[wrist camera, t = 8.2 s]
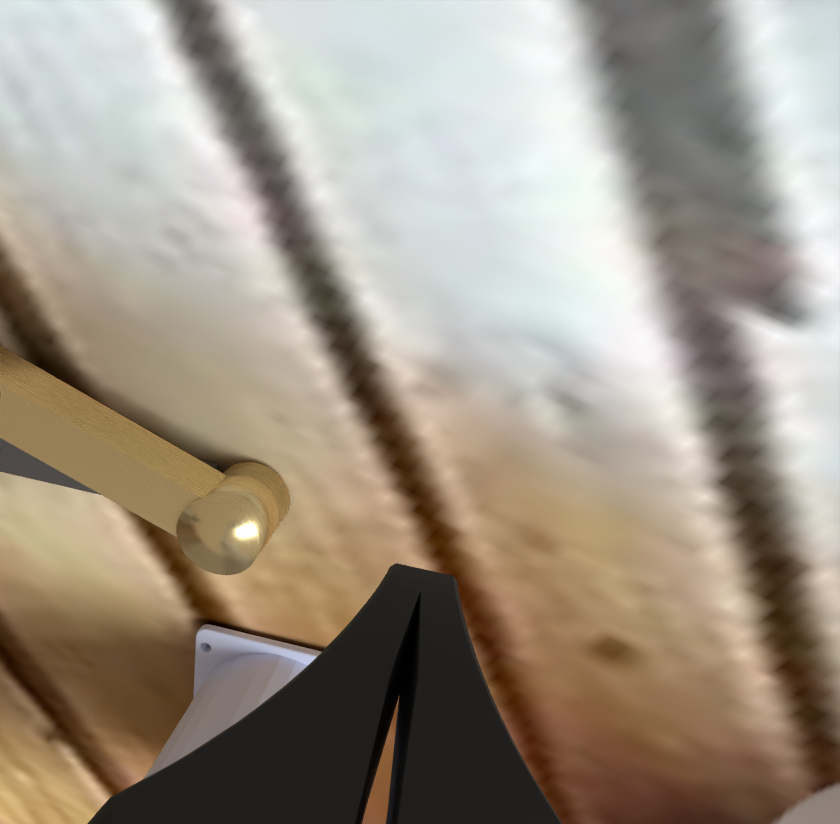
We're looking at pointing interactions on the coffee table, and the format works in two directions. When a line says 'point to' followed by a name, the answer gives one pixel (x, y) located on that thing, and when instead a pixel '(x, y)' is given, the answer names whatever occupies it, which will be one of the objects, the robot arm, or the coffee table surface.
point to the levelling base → (42, 467)
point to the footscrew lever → (142, 469)
